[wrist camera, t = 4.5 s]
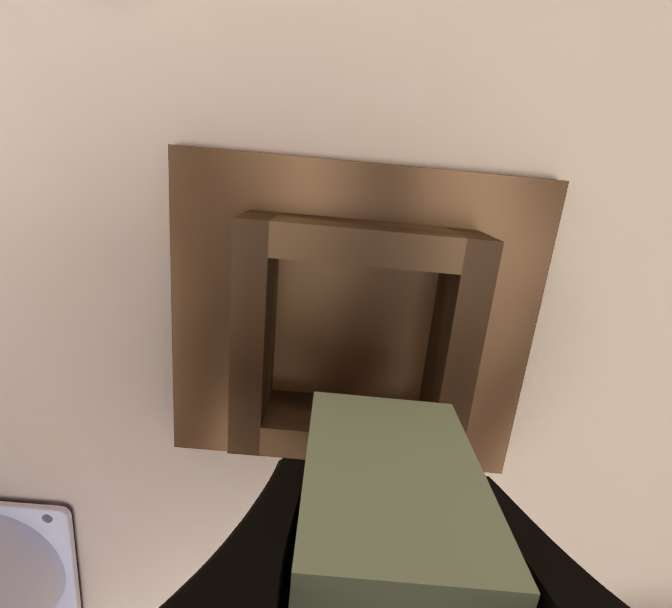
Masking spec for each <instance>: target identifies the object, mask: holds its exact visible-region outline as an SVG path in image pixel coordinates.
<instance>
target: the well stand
mask: <svg viewBox="0 0 672 608" xmlns="http://www.w3.org/2000/svg"><path fill="white" fill-rule="evenodd" d="M168 160H169V208H170V256H171V304H172V352H173V400H174V447H182V448H195V449H207V450H219V451H227V453H232V454H244V455H256V456H269V457H281V458H293V459H305V460H306V452H307V444H308V436H309V428H310V420H311V412H312V404H313V396H314V392H325V393H336V394H347V395H358V396H369V397H380V398H391V399H402V400H413V401H423V402H434V403H445V404H452V405H453V407H454V410H455V412H456V414H457V416H458V418H459V420H460V422H461V425H462V427H463V429H464V431H465V433H466V435H467V437H468V440H469V442H470V444H471V446H472V448H473V450H474V452H475V455H476V457H477V459H478V461H479V463H480V465H481V467H482V470H483V472H489V473H501V474H502V470H503V465H504V461H505V457H506V452H507V448H508V444H509V439H510V435H511V431H512V426H513V422H514V418H515V413H516V409H517V405H518V400H519V396H520V392H521V387H522V383H523V379H524V374H525V370H526V366H527V361H528V357H529V353H530V349H531V344H532V340H533V336H534V331H535V327H536V323H537V318H538V314H539V310H540V305H541V301H542V297H543V292H544V288H545V284H546V279H547V275H548V271H549V266H550V262H551V258H552V253H553V249H554V245H555V240H556V236H557V232H558V227H559V223H560V219H561V214H562V210H563V206H564V201H565V197H566V193H567V188H568V184H569V181H563V180H552V179H541V178H530V177H519V176H508V175H497V174H486V173H476V172H465V171H454V170H443V169H432V168H421V167H410V166H399V165H388V164H377V163H366V162H356V161H345V160H334V159H323V158H312V157H301V156H290V155H279V154H268V153H257V152H246V151H235V150H225V149H214V148H203V147H192V146H181V145H170V144H168Z"/></svg>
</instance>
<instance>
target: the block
mask: <svg viewBox="0 0 672 608" xmlns="http://www.w3.org/2000/svg"><path fill="white" fill-rule="evenodd" d="M539 597H540V592H539V590H538V588H537V586H536V583H535V581H534V579H533V577H532V575H531V573H530V571H529V568H528V566H527V564H526V562H525V560H524V558H523V556H522V553H521V551H520V549H519V547H518V545H517V543H516V540H515V538H514V536H513V534H512V532H511V530H510V528H509V525H508V523H507V521H506V519H505V517H504V515H503V513H502V510H501V508H500V506H499V504H498V502H497V500H496V498H495V495H494V493H493V491H492V489H491V487H490V485H489V483H488V480H487V478H486V476H485V474H484V472H483V470H482V467H481V465H480V463H479V461H478V459H477V457H476V455H475V452H474V450H473V448H472V446H471V444H470V442H469V440H468V437H467V435H466V433H465V431H464V429H463V427H462V425H461V422H460V420H459V418H458V416H457V414H456V412H455V410H454V407H453V405H452V404H445V403H434V402H423V401H413V400H402V399H391V398H380V397H369V396H358V395H347V394H336V393H325V392H314V396H313V404H312V412H311V420H310V428H309V436H308V444H307V452H306V460H305V469H304V477H303V485H302V493H301V501H300V509H299V517H298V525H297V533H296V541H295V549H294V557H293V565H292V573H291V585H290V596H289V608H536V607H537V604H538V601H539Z"/></svg>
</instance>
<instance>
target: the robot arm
mask: <svg viewBox="0 0 672 608" xmlns="http://www.w3.org/2000/svg"><path fill="white" fill-rule="evenodd" d="M304 469H305V460H302V459H291V458H283V459H281V460H280V461H279V462H278V464H277V466H276V468H275V470H274V472H273V474H272V476H271V478H270V480H269V481H268V483H267V484H266V486H265V488H264V489H263V491H262V492H261V494H260V495H259V497H258V498H257V500H256V501H255V503H254V504H253V505H252V507H251V508H250V510H249V511H248V513H247V514H246V515H245V517H244V518H243V519H242V521H241V522H240V523H239V524H238V526H237V527H236V528H235V529H234V531H233V532H232V533H231V534H230V536H229V537H228V538H227V539H226V540H225V542H224V543H223V544H222V545H221V546H220V547H219V549H218V550H217V551H216V552H215V553H214V554H213V555H212V556H211V557H210V559H209V560H208V561H207V562H206V563H205V564H204V565H203V566H202V567H201V568H200V569H199V570H198V571H197V572H196V573H195V574H194V575H193V576H192V577H191V578H190V579H189V580H188V581H187V582H186V583H185V584H184V585H183V586H182V587H181V588H180V589H179V590H178V591H176V592H175V593H174V594H173V595H172V596H171V597H170V598H169V599H168V600H167V601H166V602H165V603H163V604H162V605H161V606H160V607H159V608H288V606H289V596H290V585H291V573H292V565H293V557H294V549H295V541H296V533H297V525H298V517H299V509H300V501H301V493H302V485H303V477H304ZM486 478H487V480H488V483H489V485H490V487H491V489H492V491H493V493H494V495H495V498H496V500H497V502H498V504H499V506H500V508H501V510H502V513H503V515H504V517H505V519H506V521H507V523H508V525H509V528H510V530H511V532H512V534H513V536H514V538H515V540H516V543H517V545H518V547H519V549H520V551H521V553H522V556H523V558H524V560H525V562H526V564H527V566H528V568H529V571H530V573H531V575H532V577H533V579H534V581H535V583H536V586H537V588H538V590H539V592H540V597H539V601H538V604H537V607H536V608H630V607H629V606H628V605H626V604H625V603H624V602H623V601H621V600H620V599H619V598H617V597H616V596H615V595H614V594H612V593H611V592H610V591H609V590H607V589H606V588H605V587H604V586H603V585H601V584H600V583H599V582H598V581H597V580H595V579H594V578H593V577H592V576H591V575H590V574H589V573H587V572H586V571H585V570H584V569H583V568H582V567H581V566H580V565H579V564H577V563H576V562H575V561H574V560H573V559H572V558H571V557H570V556H568V555H567V554H566V553H565V552H564V551H563V550H562V549H561V548H560V547H559V546H558V545H557V544H556V543H555V542H554V541H553V540H551V539H550V538H549V537H548V536H547V535H546V534H545V533H544V532H543V531H542V530H541V529H540V528H539V527H538V526H537V525H536V524H535V523H534V522H533V521H532V520H531V519H530V518H529V517H528V516H527V515H526V514H525V513H524V512H523V511H522V510H521V509H520V508H519V507H518V506H517V505H516V504H515V503H514V501H513V500H512V499H511V498H510V497H509V496H508V495H507V494H506V493H505V492H504V491H503V490H502V489H501V488H500V487H499V486H498V485H497V484H496V483H495V482H494V481H493V480H492V479H491V478H490V477H489V476H486ZM49 515H50V516H49ZM51 516H52V517H51ZM0 608H81V600H80V590H79V581H78V571H77V561H76V552H75V542H74V532H73V523H72V514H71V512H70V510H69V509H68V508H66V507H64V506H56V505H44V504H31V503H19V502H6V501H0Z"/></svg>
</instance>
